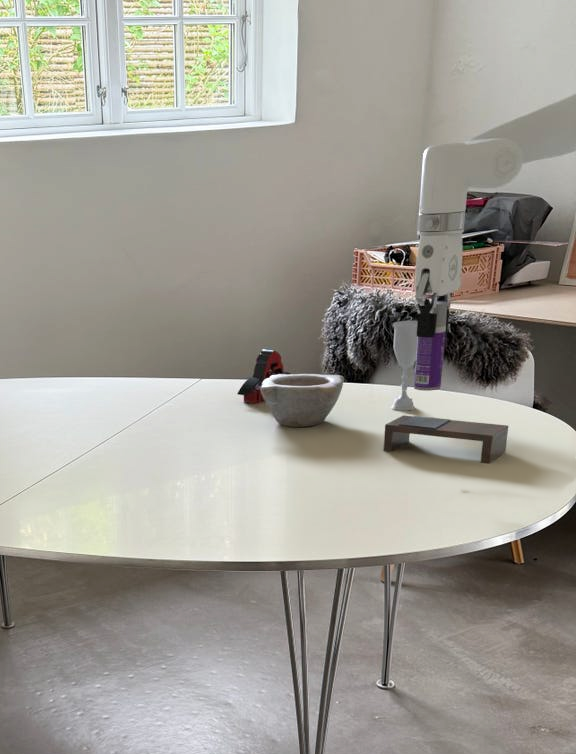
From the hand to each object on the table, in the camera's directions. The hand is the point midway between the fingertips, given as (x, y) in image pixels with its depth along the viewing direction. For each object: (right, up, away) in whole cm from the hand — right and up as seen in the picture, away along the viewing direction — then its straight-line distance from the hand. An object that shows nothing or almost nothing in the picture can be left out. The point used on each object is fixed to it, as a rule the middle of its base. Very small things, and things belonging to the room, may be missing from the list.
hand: (432, 333), depth 171 cm
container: (+1, -9, +4) cm, 10 cm away
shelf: (+5, -20, +7) cm, 22 cm away
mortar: (-16, -8, +34) cm, 39 cm away
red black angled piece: (-19, +3, +58) cm, 61 cm away
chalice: (+8, -4, +39) cm, 40 cm away
